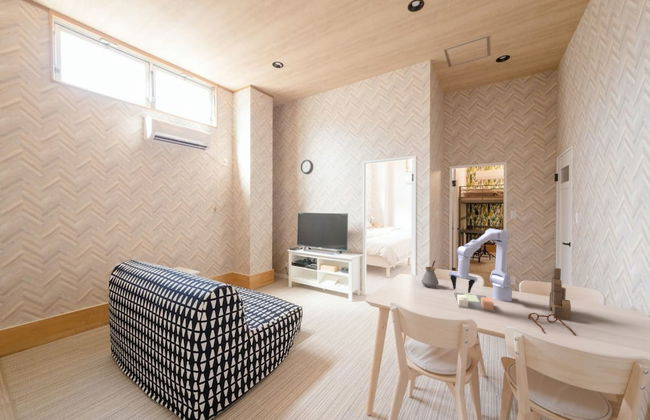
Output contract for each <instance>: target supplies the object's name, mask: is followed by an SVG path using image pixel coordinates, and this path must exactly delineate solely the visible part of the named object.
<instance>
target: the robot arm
mask: <svg viewBox="0 0 650 420" xmlns="http://www.w3.org/2000/svg"><path fill="white" fill-rule="evenodd" d="M490 240H491V241H493V242H494V243H495V244H496V250H495V251H496V252H495V265H494V266H495V267H494V269H493V270H492V271H491V273H490V276H489V281H490V283H491V285H492V299H494V300H496V301H501V302H512V301H513V299H512V298H513V290H512V287H511V286H510V285H511V284H512V280H511V275H510V273H509V272H508V271H507V259H508V258H507V255H508V245H509V244H508V243H509V232H508V231H507V230H505V229H496V228H490V227H489V228H487V229H486V230H485V231H484V234H482V235H481V236H479V237H478V238H477V239H471V240H470V241H469V242H468V243H465V244H464V245H461V246H459V247H457V249H456V254H457V258H458V262H457V272H452V271H449V272H448V277H449V276H450V277H449V278H450V280H451V283H452V287H453V290H456V289H457V279H459V278H460V279H463V280H468V288H467V294H471V290H472V288H473V286H474V284H475V283H477V282H478V277H476V276H473V275H469V274H470V273H469V272H470V264H471V262H470V261H471V258H472V257H473V255H474V253H475V252H476V251H478V250H480V249H481V247H482V245H483V244H485V243H487V242H489V241H490Z"/></svg>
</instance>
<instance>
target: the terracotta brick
mask: <svg viewBox="0 0 650 420" xmlns="http://www.w3.org/2000/svg"><path fill="white" fill-rule="evenodd" d="M486 297H487V296H486ZM486 297H481V305H482V307H483V308H484V309H485V310H493V308H494V304H495V303H494V302H493V300H492V299H491V297H487V298H486ZM494 309H495V308H494Z"/></svg>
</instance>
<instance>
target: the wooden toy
mask: <svg viewBox="0 0 650 420" xmlns="http://www.w3.org/2000/svg"><path fill="white" fill-rule="evenodd" d="M561 273H562V268H557V267H554V269H553V271H552V274H551V285H550V286H551V287H550V292H549V300H548V301H549V305H548V306H549V307H548V308H549V310H550V311H551V312H552V314H555V315H557V316H558V318H559V319H560V320H562V321H571V315H572V304H571V300H569V299H566V294H567V292H566V290H567V288H566V287H564V286H563V285H562V280H561V278H562V277H561V275H562V274H561ZM552 316H553V319H556V316H554V315H552Z"/></svg>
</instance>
